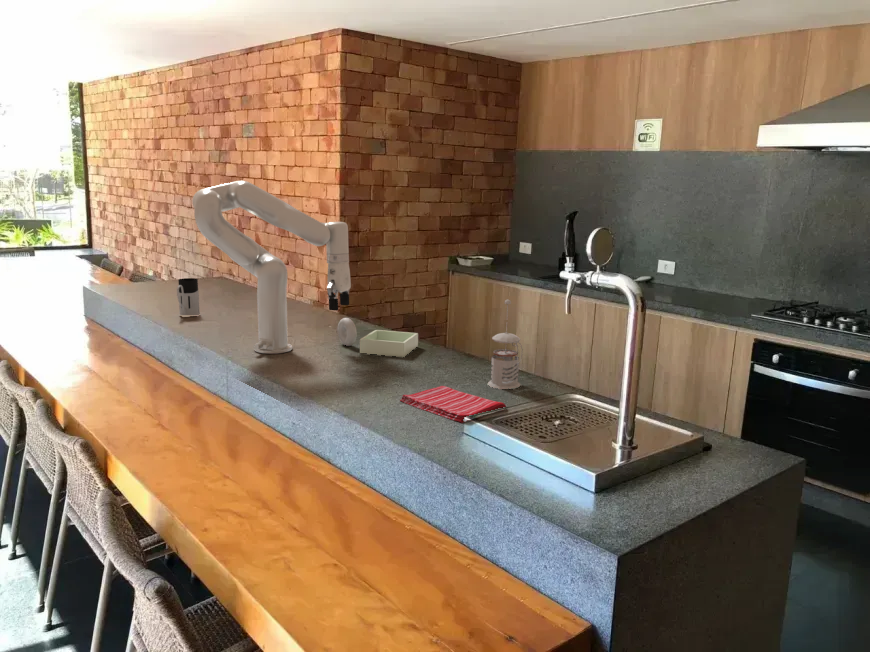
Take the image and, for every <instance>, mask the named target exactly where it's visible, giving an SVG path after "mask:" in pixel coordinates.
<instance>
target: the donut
mask: <svg viewBox="0 0 870 652" xmlns="http://www.w3.org/2000/svg"><path fill="white" fill-rule="evenodd" d="M357 331H358V330H357V327H356V325H355V323H354V321H353V320H352V319H351V318H349V317H342V319H340V320H339V322H338V324H337V331H336V332H337V335H338V339H339V341H340V343H341V344H342V345H343V346H345V345H346V347H351V346H352V345H354V344H355V342H356V341H357V337H358V336H357V335H358V334H357Z"/></svg>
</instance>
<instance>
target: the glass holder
mask: <svg viewBox="0 0 870 652" xmlns="http://www.w3.org/2000/svg"><path fill="white" fill-rule="evenodd" d="M199 292H200V291H199V281H198V278H194V277H191V278H189V277H188V278H184V277H183V278H179V279H178V285H177V288H176V296H177V300H178V305H179V306H178V307H179V314H180V315H199V314H201V311H200V295H199V294H200V293H199ZM179 314H178V315H179Z"/></svg>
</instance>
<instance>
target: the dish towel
mask: <svg viewBox="0 0 870 652" xmlns="http://www.w3.org/2000/svg"><path fill="white" fill-rule="evenodd" d="M399 402H402V403H404V404H407V405H409V406H411V407H414V408H417V409H420V410H422V411H425V412H429V413H431V414H434V415H438V416H440V417H443V418H446V419H449V420H452V421H455V422H458V423H461V424H464V423H463V419H464V417H466V416H469V415H474V414H478V413H482V412H486V411H491V410H495V409H498V408H503V407H506V408H507V406H506V404H505V403H504V402H502V401H494V400H491V399H487V398H484V397H481V396H478V395H474V394H470V393H466V392H464V391H460V390H456V389H454V388H452V387H449V386H445V385H440V386H436V387H434V388H433V387H432V388H428V389H426V390H423V391H419V392H416V393H412V394H403V395H402V396H401V399H400V400H399Z"/></svg>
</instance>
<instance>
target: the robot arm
mask: <svg viewBox="0 0 870 652" xmlns="http://www.w3.org/2000/svg"><path fill="white" fill-rule="evenodd" d="M191 201H192V207H193V208H194V220H195V224H196V226H197V229H198V231H199V232H200V234H201V235H202V236H203V237H204V238H205V239H207V241H209V242H210V243H211V244H212V245H214V246H215V247H217V249H219V250H221V251H222V252H223V253H224V254H225V255H226V256H228V257H229V258H230V260H232V261H233V262H234V263H236V264H237V265H239V266H240V267H242V268H243V269H244V270H246V272H249V273H250V274H251V275H252V276H254V277H256V278H257V289H256V300H257V303H256V305H257V326H258V328H257V329H258V331H257V333H258V340H257V341H258V342H256V343H254V344H253V350H254V351H255V352H256V353H260V354H268V355H269V354H270V355H271V354H275V355H276V354H283V353H287V352H291V350H293V345H292V344H290V343H288V342H289V341H288V303H287V300H288V299H287V298H288V297H287V288H288V269H287V266H286V264H285V262H284V261H283V260H282V259H281V258H280V257H278V256H275V255H274V254H272V253H271V252H269V251H268V250H267V249H265V247H262V246H261V245H260V244H259V243H257V242H256V241H255V239H253V238H252V237H250V236H249V235H246V234H245V233H243V232H241V230H239V229H238V228H237V227H235V226H234V225H233V224H232V223H230V222H229V221H228V220H227V219H225V216H224V215H223V212H226V211H231V210H235V209H238V208H240V209H243V210H245V211H246V212H248V213H250V214H251V215H254V216H255V217H257V218H259V219H261V220H263V221H264V222H266V223H269V224H270V225H272V226H274V227H277V228H279V229H282V230H285V231H287V232H290V233H291V234H292V235H293V234H294V235H295V236H298V237H299V238H300V239H302V240H304V241H305V242H306V243H307V244H311V245H312V246H316V247H323V246H326V247H325V249H326V250H325V251H326V264H327V286H326V292H327V298H328V310H329V311H339V304H340V305H341V306H349V305H350V289H351V287H352V283H351V282H352V281H351V269H350V264H349V263H350V256H349V255H350V254H349V253H350V252H349V250H350V249H349V226H348V223H347V222H345V221H344V222H343V221H329V222H320V221H319V220H317V219H315V218H314V217H312V216H310V215H309V214H306V213H304V212H303V211H301V210H299V209H297V208H296V207H294V206H292V205H290V204H289V203H287V202H286V201H284V200H282V199H281V198H278V197H277V196H275V195H273V194H271V193H270V192H268V191H266V190H265V189H262V188H261V187H259V186H257V185H255V184H254V183H252V182H249V181H247V180H236V181H232V182H230V183H229V182H228V183H224V184H219V185H215V186H211V187H206V188H201V189H199V190H197V191H196V192H195V194H194V195H193V197H192V200H191ZM338 296H339V299H338ZM339 302H340V303H339Z"/></svg>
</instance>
